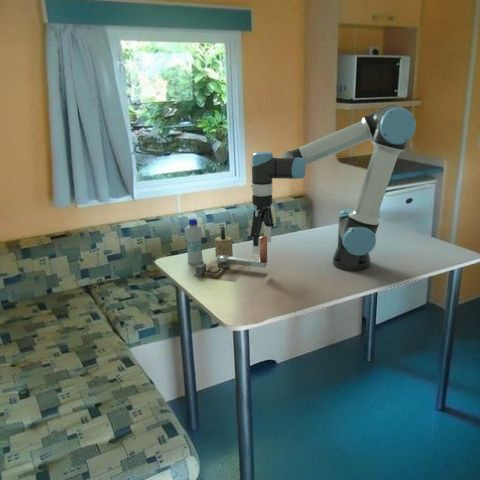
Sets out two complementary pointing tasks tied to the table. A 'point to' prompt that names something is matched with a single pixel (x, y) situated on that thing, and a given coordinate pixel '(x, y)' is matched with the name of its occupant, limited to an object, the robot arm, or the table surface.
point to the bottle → (194, 242)
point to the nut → (213, 268)
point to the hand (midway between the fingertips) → (262, 247)
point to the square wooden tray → (221, 271)
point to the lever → (246, 261)
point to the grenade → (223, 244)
